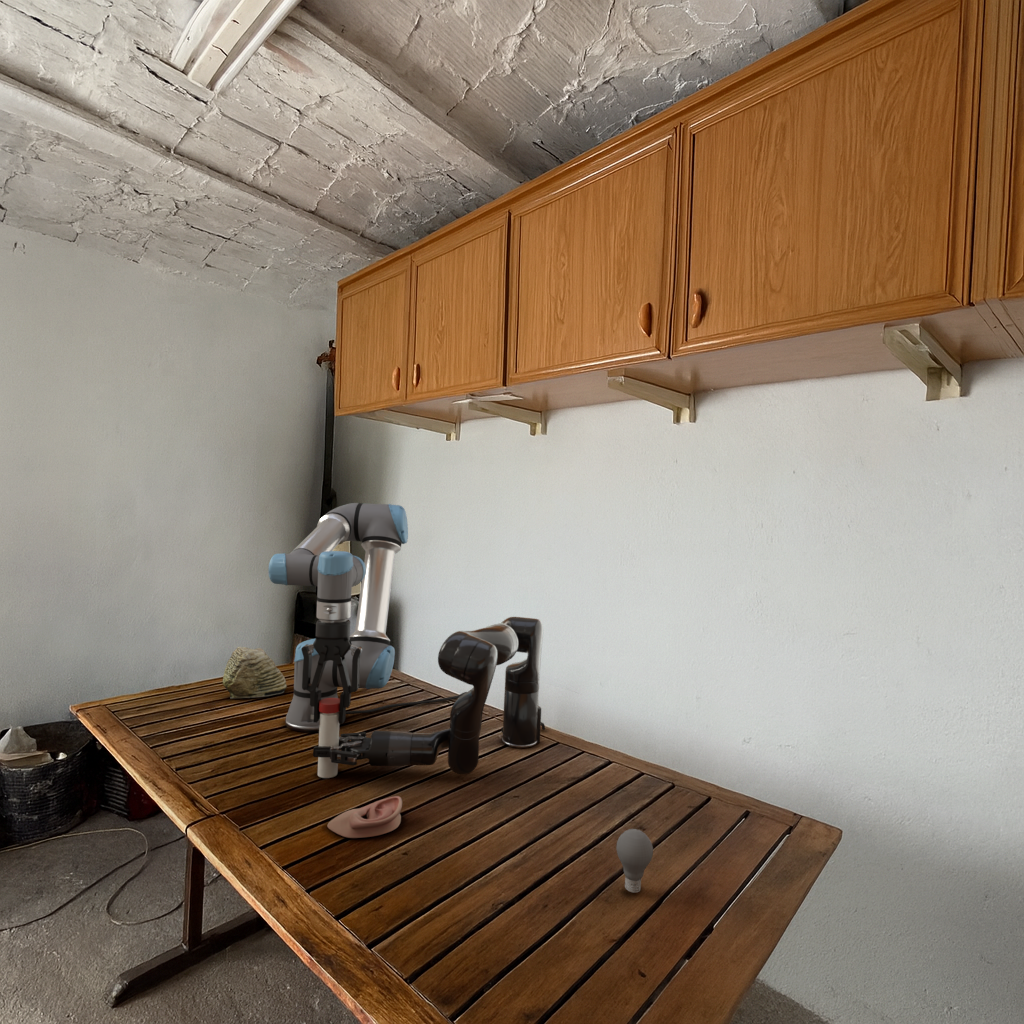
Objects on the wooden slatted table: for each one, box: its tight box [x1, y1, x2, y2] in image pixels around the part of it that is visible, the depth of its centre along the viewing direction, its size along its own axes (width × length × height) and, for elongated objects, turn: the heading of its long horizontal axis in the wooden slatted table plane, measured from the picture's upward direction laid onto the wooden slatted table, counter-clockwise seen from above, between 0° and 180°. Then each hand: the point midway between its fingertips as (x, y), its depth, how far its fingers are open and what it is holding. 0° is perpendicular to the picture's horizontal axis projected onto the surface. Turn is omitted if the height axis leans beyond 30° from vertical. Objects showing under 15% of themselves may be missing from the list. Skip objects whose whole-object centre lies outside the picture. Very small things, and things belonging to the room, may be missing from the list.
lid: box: [319, 697, 340, 714], centre depth 145 cm, size 5×5×2 cm
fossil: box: [222, 646, 288, 699], centre depth 198 cm, size 9×18×15 cm, turn 132°
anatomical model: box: [327, 795, 403, 839], centre depth 123 cm, size 13×4×12 cm
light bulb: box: [615, 828, 654, 894], centre depth 106 cm, size 6×6×10 cm
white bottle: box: [317, 711, 341, 779], centre depth 145 cm, size 4×4×16 cm
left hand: (329, 720), depth 145 cm, fingers open, 5 cm apart
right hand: (316, 747), depth 144 cm, fingers closed on white bottle, 4 cm apart
